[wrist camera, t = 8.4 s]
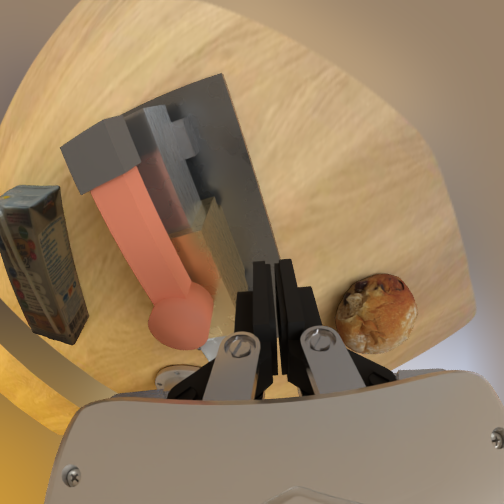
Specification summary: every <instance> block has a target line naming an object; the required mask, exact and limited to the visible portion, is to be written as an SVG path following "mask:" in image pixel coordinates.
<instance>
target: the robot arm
mask: <svg viewBox="0 0 504 504" xmlns="http://www.w3.org/2000/svg"><path fill="white" fill-rule="evenodd" d="M274 272H275V293H276V314H277V325H278V335H279V346H280V357H281V368H282V375H286V374H287V378H288V382H291V383H292V384H294V385H295V386H297V387H298V394H299V397H291V398H278V399H264V398H265V390H266V389H267V388H268V387H269V386H270V385H271V384H272V383H273V375H278V361H277V334H276V317H275V307H274V296H273V286H272V276H271V266H270V264H265V261H254V262H253V291H242V292H237V297H236V311H235V324H234V333H231V334H230V335H228V336H226V337H225V338H224V339H223V340H222V342H221V343H220V346H219V349H218V352H217V355H216V358H214V359H213V360H211V361H210V362H208V363H207V364H206V365H204V366H203V367H201V368H200V367H194V366H185V365H178V366H170V367H166V368H164V369H162V370H160V371H159V372H158V374H157V376H156V379H155V385H156V387H157V390H149V391H140V392H130V393H120V394H116V395H114V396H112V397H111V398H108V399H103V400H99V401H95V402H91V403H89V404H87V405H85V406H83V407H81V408H80V409H79V410H78V411H77V412H76V413H75V415H74V416H73V418H72V419H71V421H70V423H69V425H68V427H67V429H66V431H65V433H64V436H63V438H62V441H61V443H60V446H59V449H58V452H57V455H56V457H55V461H54V465H53V468H52V472H51V476H50V480H49V484H48V488H47V492H46V497H45V503H44V504H504V406H503V405H502V403H501V401H500V399H499V397H498V395H497V394H496V392H495V391H494V389H493V388H492V386H491V385H490V383H489V382H488V381H487V380H486V379H485V378H484V377H483V376H481V375H479V374H478V373H475V372H470V371H462V370H448V371H446V370H444V369H422V370H398V372H397V373H393V372H392V371H390V370H389V369H387V368H385V367H383V366H381V365H379V364H377V363H375V362H373V361H371V360H369V359H366V358H364V357H362V356H360V355H358V354H356V353H354V352H352V351H350V350H348V349H346V347H345V345H344V343H343V341H342V339H341V337H340V335H339V334H338V333H337V332H336V331H335V330H334V329H332V328H330V327H327V326H322V323H321V319H320V316H319V312H318V308H317V305H316V301H315V298H314V294H313V291H312V288H311V286H309V287H297V282H296V278H295V274H294V269H293V265H292V260H291V259H282V260H279V263H274Z"/></svg>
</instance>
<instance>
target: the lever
mask: <svg viewBox="0 0 504 504" xmlns="http://www.w3.org/2000/svg"><path fill="white" fill-rule="evenodd" d="M60 149H61V151H62V154H63V156H64V159H65V161H66V163H67V166H68V168H69V170H70V173H71V175H72V177H73V179H74V181H75V184H76V186H77V188H78V190H79V192H80V194H81V195H83V194H84V193H86V192H88V191H90V192H91V194H92V197H93V199H94V201H95V203H96V205H97V207H98V209H99V211H100V213H101V215H102V217H103V219H104V221H105V222H106V224H107V226H108V228H109V230H110V232H111V234H112V236H113V237H114V239H115V241H116V243H117V245H118V247H119V248H120V250H121V252H122V254H123V255H124V257H125V259H126V261H127V262H128V264H129V266H130V267H131V269H132V271H133V272H134V274H135V276H136V277H137V279H138V281H139V282H140V284H141V285H142V287H143V289H144V290H145V292H146V293H147V295H148V297H149V298H150V300H151V301H152V303H153V304H154V307H153V310H152V312H151V315H150V317H149V320H148V326H149V330H150V332H151V333H152V335H153V336H154V337H155V338H156V339H157V340H158V341H160V342H161V343H163V344H164V345H166V346H169V347H171V348H175V349H179V350H193V349H197V348H199V347H201V346H203V345H204V344H205V343H206V342H207V340H208V336H209V330H210V324H211V319H212V313H213V307H214V303H213V299H212V297H211V295H210V293H209V292H208V291H207V290H206V289H205V288H204V287H202V286H201V285H199V284H197V283H195V282H192V281H191V279H190V277H189V275H188V274H187V272H186V270H185V268H184V266H183V264H182V262H181V260H180V258H179V256H178V254H177V252H176V250H175V248H174V246H173V244H172V242H171V240H170V238H169V236H168V234H167V232H166V230H165V228H164V226H163V224H162V222H161V219H160V217H159V215H158V213H157V211H156V209H155V207H154V204H153V202H152V200H151V198H150V196H149V194H148V191H147V189H146V187H145V185H144V182H143V180H142V178H141V176H140V173H139V171H138V169H137V166H136V165H138V164H139V163H141V159H140V157H139V155H138V152H137V150H136V147H135V145H134V142H133V140H132V138H131V135H130V133H129V130H128V127H127V125H126V122H125V120H124V117H123V115H120V116H116V117H111V118H108V119H104V120H102V121H100V122H98V123H97V124H95V125H93V126H92V127H90V128H89V129H87V130H85V131H84V132H82V133H81V134H79V135H78V136H76V137H75V138H73V139H72V140H70V141H69V142H67V143H66V144H64V145H63V146H61V147H60Z"/></svg>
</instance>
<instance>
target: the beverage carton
mask: <svg viewBox="0 0 504 504" xmlns="http://www.w3.org/2000/svg"><path fill="white" fill-rule="evenodd" d="M0 253H1V256H2V259H3V262H4V266H5V268H6V271H7V274H8V277H9V280H10V282H11V285H12V288H13V290H14V292H15V295H16V297H17V300H18V302H19V304H20V307H21V309H22V311H23V313H24V316H25V318H26V320H27V322H28V324H29V326H30V327H31V329H32V332H33V333H35V334H39V335H42V336H45V337H48V338H49V339H53V340H57V341H61V342H63V343H66V344H69V345H74V344H75V343H76V341H77V339H78V337H79V335H80V333H81V331H82V329H83V327H84V325H85V323H86V321H87V319H88V317H89V315H88V312H87V308H86V305H85V301H84V298H83V295H82V291H81V288H80V284H79V281H78V277H77V273H76V269H75V265H74V261H73V257H72V252H71V248H70V243H69V238H68V233H67V228H66V222H65V217H64V212H63V207H62V200H61V193H60V186H31V185H19V186H16V187H14V188H13V189H10V190H9V191H7V192H6V193H4V194H3V195H2V196H0Z"/></svg>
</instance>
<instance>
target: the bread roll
mask: <svg viewBox="0 0 504 504" xmlns="http://www.w3.org/2000/svg"><path fill="white" fill-rule="evenodd" d="M417 314H418V309H417V305H416V303H415V300H414V297H413V295H412V293H411V292H410V290H409V288H408V287H407V286H406V284H405V283H404V282H403V281H402V280H401V279H400V278H399V277H397V276H393V275H389V274H376V275H373V276H371V277H369V278H366V279H364V280H361V281H358V282H356V283H355V284H354V285H353V286H351V288H350V289H349V290H348V292H347V293H346V294H345V295H344V298H343V300H342V301H341V303H340V304H339V307H338V310H337V314H336V317H335V322H336V328H337V331H338V333H339V335H340V337H341V339H342V341H343V342H344V344H345V345H346V346H347V347H348V348H350V349H351V350H352V351H355V352H358V353H362V354H378V353H384V352H388V351H390V350H392V349H394V348H396V347H398V346H399V345H401V344H402V343H403V342H404V341H406V340H407V339H408V338H409V335H410V333H411V331H412V329H413V327H414V323H415V320H416V318H417Z"/></svg>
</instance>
